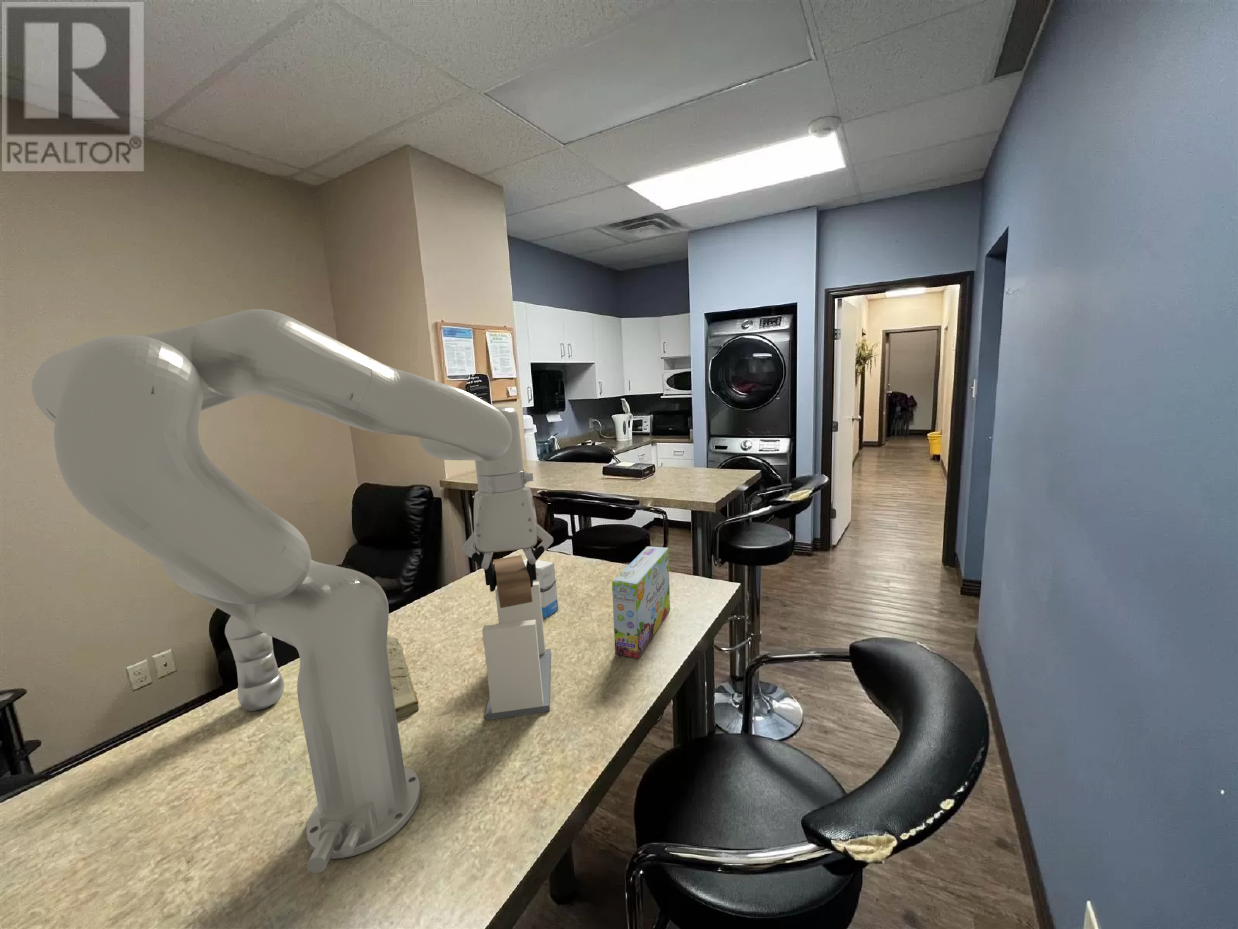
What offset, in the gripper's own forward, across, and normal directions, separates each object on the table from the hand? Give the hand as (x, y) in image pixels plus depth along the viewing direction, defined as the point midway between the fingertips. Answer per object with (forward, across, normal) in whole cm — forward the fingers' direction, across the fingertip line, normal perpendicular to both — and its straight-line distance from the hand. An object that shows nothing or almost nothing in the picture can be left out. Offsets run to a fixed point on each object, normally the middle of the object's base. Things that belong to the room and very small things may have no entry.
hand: (512, 585), depth 82 cm
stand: (+18, 0, 0) cm, 18 cm away
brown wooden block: (+1, 0, 0) cm, 1 cm away
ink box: (+19, -2, -28) cm, 34 cm away
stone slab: (+19, +28, -7) cm, 34 cm away
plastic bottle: (+18, +45, -4) cm, 48 cm away
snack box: (+19, -24, -13) cm, 33 cm away
